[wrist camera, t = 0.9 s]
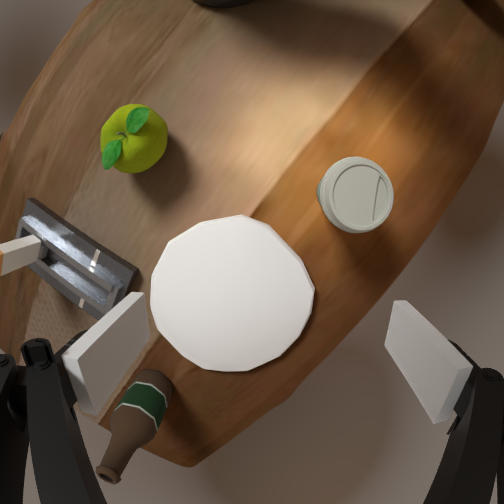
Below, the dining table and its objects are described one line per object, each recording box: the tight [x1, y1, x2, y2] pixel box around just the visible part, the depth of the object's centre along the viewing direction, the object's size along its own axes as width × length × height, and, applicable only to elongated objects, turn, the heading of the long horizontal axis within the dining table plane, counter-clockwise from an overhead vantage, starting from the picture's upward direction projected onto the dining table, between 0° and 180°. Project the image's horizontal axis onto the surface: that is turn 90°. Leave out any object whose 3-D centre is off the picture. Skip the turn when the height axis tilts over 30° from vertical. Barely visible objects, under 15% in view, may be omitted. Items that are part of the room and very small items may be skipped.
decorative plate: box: [150, 215, 315, 371], centre depth 43 cm, size 25×4×25 cm
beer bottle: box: [96, 369, 173, 484], centre depth 37 cm, size 8×8×24 cm
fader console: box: [15, 198, 138, 320], centre depth 43 cm, size 26×12×4 cm, turn 60°
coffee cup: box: [317, 157, 394, 233], centre depth 34 cm, size 8×8×12 cm
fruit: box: [101, 104, 168, 173], centre depth 35 cm, size 9×9×10 cm
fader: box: [0, 235, 48, 276], centre depth 36 cm, size 4×4×12 cm
